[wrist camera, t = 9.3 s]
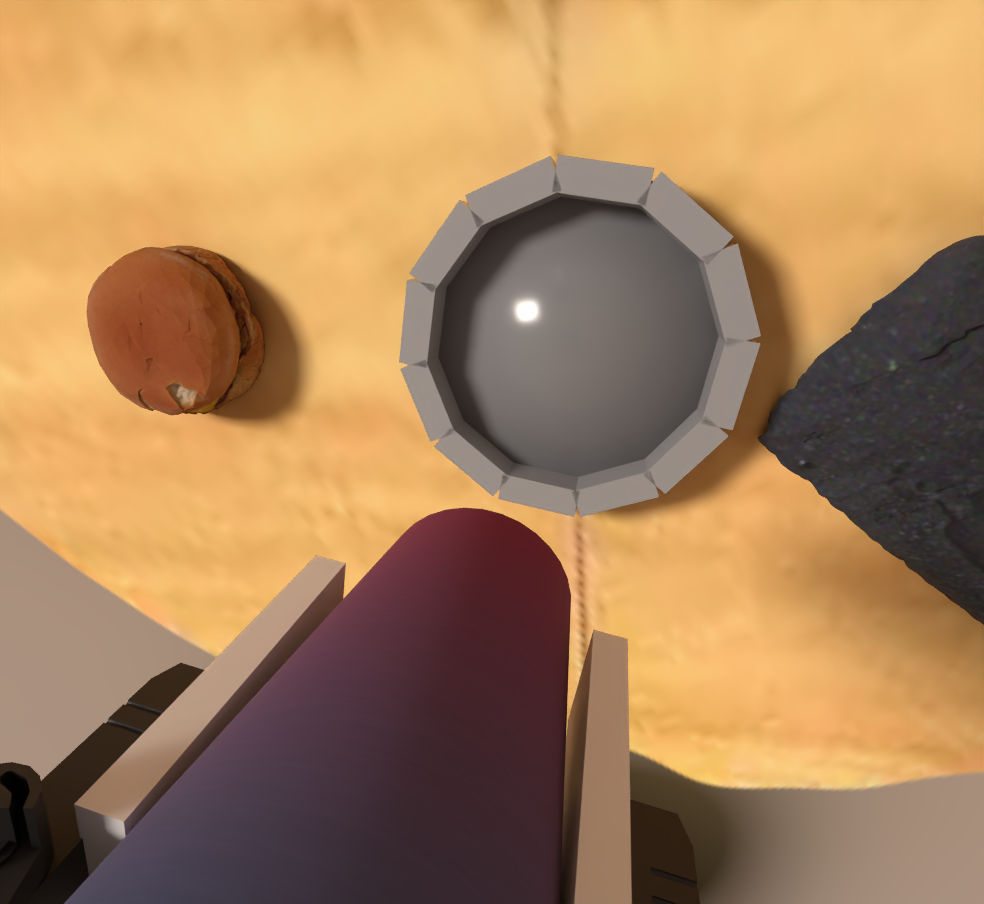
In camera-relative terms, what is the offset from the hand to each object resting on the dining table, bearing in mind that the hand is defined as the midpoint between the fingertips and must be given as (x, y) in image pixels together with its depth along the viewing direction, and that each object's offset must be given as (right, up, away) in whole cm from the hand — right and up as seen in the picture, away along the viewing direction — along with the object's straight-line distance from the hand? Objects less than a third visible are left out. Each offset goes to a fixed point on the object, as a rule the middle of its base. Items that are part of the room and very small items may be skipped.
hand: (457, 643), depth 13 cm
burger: (-17, +12, +22) cm, 30 cm away
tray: (+5, +10, +17) cm, 21 cm away
